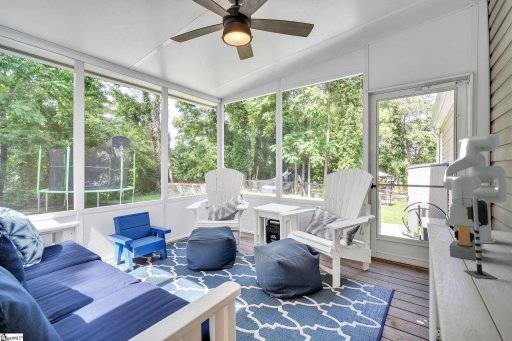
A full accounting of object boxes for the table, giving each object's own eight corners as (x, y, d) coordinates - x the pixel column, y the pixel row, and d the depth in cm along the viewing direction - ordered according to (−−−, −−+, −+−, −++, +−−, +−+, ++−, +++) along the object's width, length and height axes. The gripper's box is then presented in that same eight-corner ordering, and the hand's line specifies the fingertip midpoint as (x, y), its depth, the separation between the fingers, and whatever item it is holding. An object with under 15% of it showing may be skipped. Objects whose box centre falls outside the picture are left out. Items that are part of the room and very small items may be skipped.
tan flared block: (458, 243, 117) (457, 224, 117) (471, 244, 114) (470, 225, 114) (457, 244, 115) (456, 225, 115) (471, 246, 111) (470, 226, 111)
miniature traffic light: (499, 279, 88) (494, 197, 89) (475, 278, 90) (470, 197, 91) (484, 271, 96) (479, 195, 97) (462, 270, 97) (458, 196, 98)
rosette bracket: (456, 244, 132) (455, 226, 132) (484, 248, 124) (483, 228, 124) (449, 256, 114) (447, 234, 115) (480, 261, 106) (479, 238, 107)
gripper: (487, 202, 111) (489, 241, 111) (441, 200, 123) (443, 236, 123) (486, 203, 106) (488, 245, 106) (438, 201, 118) (441, 239, 118)
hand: (464, 240), depth 114 cm, fingers open, 4 cm apart
